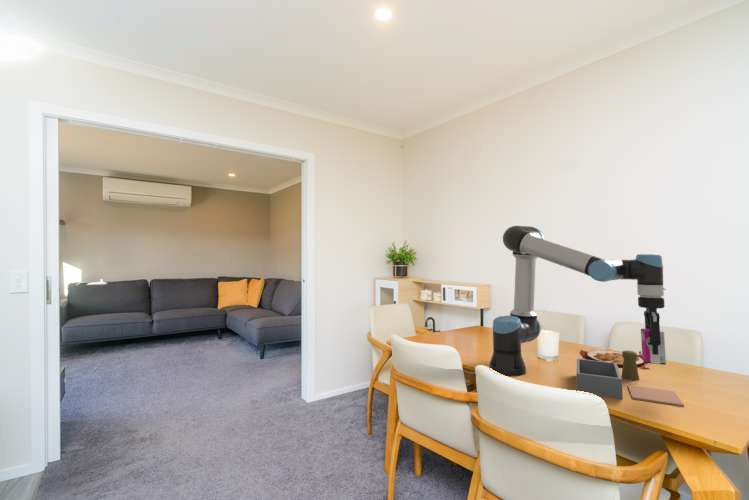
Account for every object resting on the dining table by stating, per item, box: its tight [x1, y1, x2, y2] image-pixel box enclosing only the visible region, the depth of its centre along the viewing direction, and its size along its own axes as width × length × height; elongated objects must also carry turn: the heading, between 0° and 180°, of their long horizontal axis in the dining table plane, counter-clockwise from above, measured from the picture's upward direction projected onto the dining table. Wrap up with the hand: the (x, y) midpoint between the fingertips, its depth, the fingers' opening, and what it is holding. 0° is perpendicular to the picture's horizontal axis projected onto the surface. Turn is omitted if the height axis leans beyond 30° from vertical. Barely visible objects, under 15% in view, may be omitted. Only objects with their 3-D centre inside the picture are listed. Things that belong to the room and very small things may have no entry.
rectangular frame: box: [575, 358, 623, 400], centre depth 139 cm, size 14×22×7 cm, turn 150°
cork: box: [621, 350, 640, 381], centre depth 147 cm, size 6×6×11 cm
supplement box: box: [640, 328, 667, 365], centre depth 128 cm, size 6×6×12 cm
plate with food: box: [580, 349, 650, 370], centre depth 171 cm, size 25×26×4 cm
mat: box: [627, 384, 685, 408], centre depth 128 cm, size 14×14×1 cm
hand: (653, 360), depth 128 cm, fingers closed on supplement box, 6 cm apart
